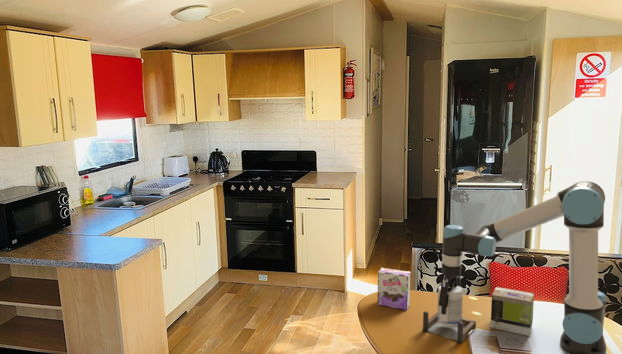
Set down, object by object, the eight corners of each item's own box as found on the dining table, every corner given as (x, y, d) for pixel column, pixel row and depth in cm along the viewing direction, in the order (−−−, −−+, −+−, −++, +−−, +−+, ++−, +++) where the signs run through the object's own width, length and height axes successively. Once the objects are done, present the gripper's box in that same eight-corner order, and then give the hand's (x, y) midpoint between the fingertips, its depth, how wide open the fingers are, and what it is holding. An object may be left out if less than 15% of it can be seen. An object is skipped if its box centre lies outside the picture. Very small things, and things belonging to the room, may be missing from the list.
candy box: (377, 305, 216) (377, 271, 213) (380, 300, 221) (380, 267, 218) (407, 310, 211) (408, 275, 208) (409, 305, 216) (410, 271, 213)
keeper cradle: (476, 328, 194) (477, 310, 193) (461, 344, 182) (462, 324, 181) (438, 316, 204) (439, 299, 203) (421, 330, 193) (422, 312, 191)
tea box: (532, 326, 195) (535, 292, 193) (529, 337, 187) (532, 302, 184) (494, 318, 203) (496, 285, 200) (489, 328, 194) (491, 294, 192)
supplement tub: (466, 323, 191) (468, 289, 189) (450, 330, 186) (452, 295, 183) (447, 314, 199) (449, 281, 196) (431, 320, 194) (433, 286, 191)
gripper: (454, 254, 199) (451, 304, 203) (430, 269, 182) (428, 323, 186) (471, 258, 194) (468, 309, 198) (449, 274, 177) (446, 329, 181)
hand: (449, 316), depth 192 cm, fingers closed on supplement tub, 9 cm apart
